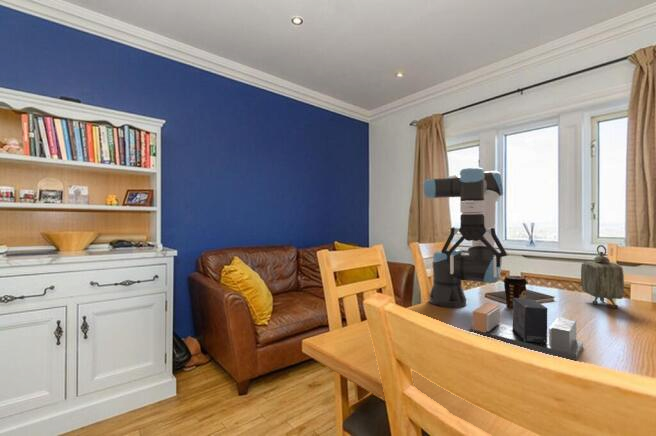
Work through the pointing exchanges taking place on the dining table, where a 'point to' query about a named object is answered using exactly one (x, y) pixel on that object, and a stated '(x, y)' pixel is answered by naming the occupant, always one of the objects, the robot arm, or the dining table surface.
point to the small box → (530, 320)
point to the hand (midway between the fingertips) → (472, 275)
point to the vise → (558, 339)
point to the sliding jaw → (486, 317)
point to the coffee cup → (514, 289)
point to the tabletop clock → (602, 278)
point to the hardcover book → (529, 295)
